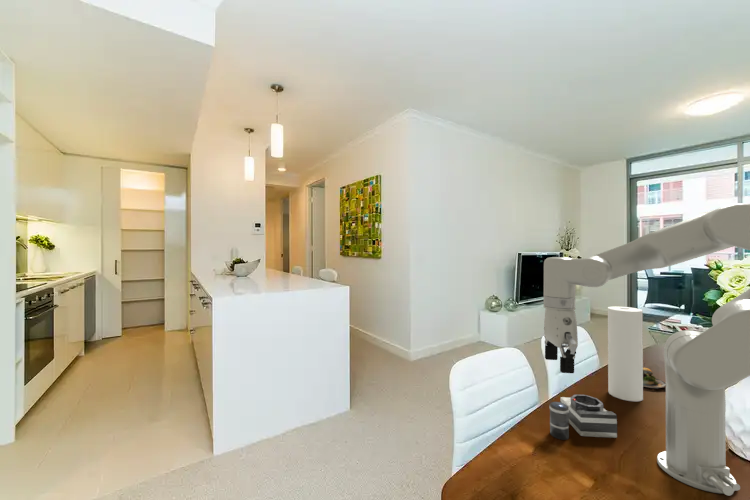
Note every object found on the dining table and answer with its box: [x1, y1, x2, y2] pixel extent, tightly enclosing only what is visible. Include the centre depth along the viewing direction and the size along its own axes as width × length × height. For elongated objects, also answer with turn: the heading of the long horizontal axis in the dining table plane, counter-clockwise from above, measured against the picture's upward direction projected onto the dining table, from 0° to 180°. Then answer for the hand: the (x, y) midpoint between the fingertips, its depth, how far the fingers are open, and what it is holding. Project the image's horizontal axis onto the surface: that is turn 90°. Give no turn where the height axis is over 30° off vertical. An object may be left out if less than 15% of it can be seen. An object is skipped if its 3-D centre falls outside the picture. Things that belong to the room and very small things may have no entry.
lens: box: [549, 401, 570, 441], centre depth 88 cm, size 5×5×8 cm
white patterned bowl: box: [643, 364, 666, 390], centre depth 120 cm, size 12×12×8 cm
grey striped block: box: [559, 394, 618, 439], centre depth 93 cm, size 12×9×7 cm
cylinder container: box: [607, 305, 644, 402], centre depth 111 cm, size 9×9×30 cm
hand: (558, 365), depth 88 cm, fingers open, 9 cm apart
